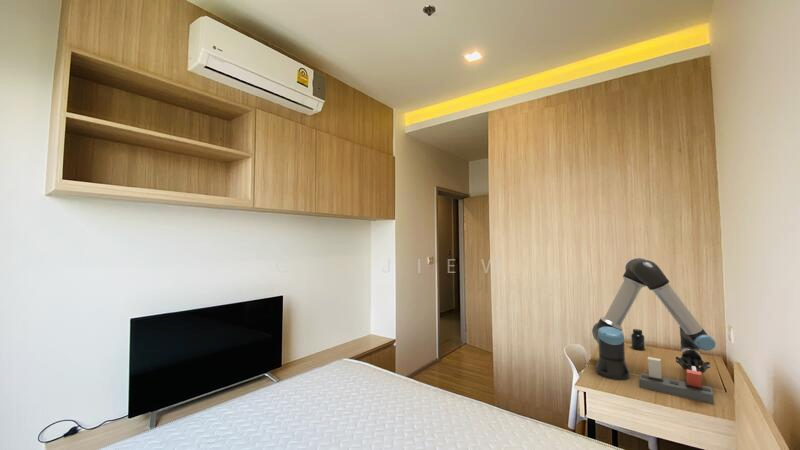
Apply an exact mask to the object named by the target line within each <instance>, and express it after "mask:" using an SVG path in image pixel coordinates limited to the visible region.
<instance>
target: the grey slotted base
mask: <svg viewBox="0 0 800 450" xmlns="http://www.w3.org/2000/svg"><path fill="white" fill-rule="evenodd" d="M701 387H702V388H699V387H695V386H690V385H687V381H682V380H678V379H673V378H668V377H665V376H664V377H663V376H662V379H659V378H655V377H650V376H649V373H643V372H640V376H639V388H641V389H643V390H649V391H655V392H657V393H658V392H659V393H662V394H667V395H671V396H676V397H681V398H685V399H689V400H693V401H698V402H702V403H707V404H712V405H714V404H715V403H714V393H713V389H712V386H708V385H703V384H701Z"/></svg>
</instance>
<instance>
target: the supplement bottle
mask: <svg viewBox="0 0 800 450" xmlns="http://www.w3.org/2000/svg"><path fill="white" fill-rule="evenodd" d="M630 338H631V348H632V349H633V350H635V351H645V350H646V349H645V347H646V346H645V335H644V334H643V330H642V329H638V328H633V329H632V333H631V335H630Z"/></svg>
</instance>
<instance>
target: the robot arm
mask: <svg viewBox="0 0 800 450" xmlns="http://www.w3.org/2000/svg"><path fill="white" fill-rule="evenodd" d="M624 268H625V271H624V273H623V274H622V278H623V282H622V284H621V285H620V287H619V289H618V290H617V292H616V295H615V297H614V299H613V300H612V302H611V305H610V306H609V308H608V310H607V311H606V314H605V316H603V317H600V319H598V321H597V323H595V324H594V325H593V326H592V329H591V331H592V336H593V339H594V340H595V341H596V342H597V344H598V355H599V356H598V359H597V363H596V365H595V371H596V373H597V374H598V375H600V376H602V377H603V378H604V377H605V378H607V379H612V380H619V381H620V380H621V381H622V380H623V381H624V380H627V379H629V378H630V377H631V376H630V374H631V373H630V371H629V367H628V366H627V362H626V358H625V355H626V354H625V335H624V332H623V326H622V325H623V322H624V321H625V319H626V316H627V315H628V313H629V311H630V309H631V308H632V306H633V304H634V303H635V300H636V299H637V297H638V294H639V293H640V292H641V289H642V288H646V287H647V288H648V289H649V291H652V292H653V293H654V294H655V295H656V297H657V298H658V300H659V301H660V302H661V303H662V304H663V306H664V307H665V309H666V310H667V311H668V313H670V315H671V316H672V318H673V319H674V321H676V323H677V325H678V326H679V336H680V337H679V338H680V339H679V340H680V351H681V352H680V353H681V357H679V356H675V363H677V364H678V365H679V366H680V367H681V368H682V369H683V370H686V371H687V369H688V370H693V371H699V372H701V374H704V373H706V372H707V370H708V369H710V368H711V362H709V361H704V360H703V359H702V355H701V351H706V352H709V351H713V350H714V349H715V347H716V346H717V345H716V341H715V339H714V338H713V337H712V336H710V335H708V333H707V331H705V329H704V328H703V327H702V325H701V324H700V322H699V321H698V320H697V319H696V317H695V316H694V315H693V314H692V313H691V311H690V310H689V309H688V307H687V305H685V303H684V302H683V300H682V299H681V298H680V296H678V294H677V293H676V292H675V290H674V289H673V288H672V286H671V285H670V280H669V279H668V277H667V276H666V274H665V273H664V272H663V271H662V268H660V266H658V264H657V263H655V262H653V261H652V260H649V259H644V258H641V257H640V258H639V257H638V258H632V259H630V260H628V261H627V263H626V264H625V267H624Z"/></svg>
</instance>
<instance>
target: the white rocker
mask: <svg viewBox="0 0 800 450" xmlns="http://www.w3.org/2000/svg"><path fill="white" fill-rule="evenodd" d="M661 360H662V359H661V358H656V357H652V356H647V364H648V365H647V366H648V374H649V376H650V377H655V378H659V379H662V377H663V375H662V362H661Z"/></svg>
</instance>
